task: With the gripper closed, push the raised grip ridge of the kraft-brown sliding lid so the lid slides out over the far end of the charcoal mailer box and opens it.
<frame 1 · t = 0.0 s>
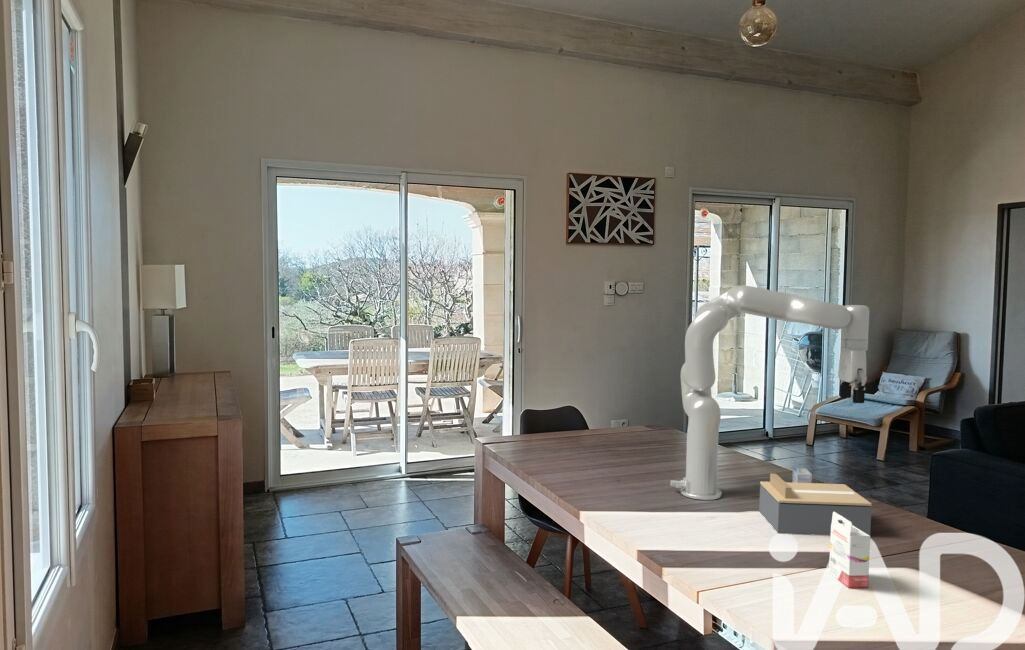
hand: (851, 400, 218), 31 cm above the table, tool pointing down, fingers open, 9 cm apart
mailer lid: (813, 487, 197), point 10 cm above the table, slide at 0.0 cm
mailer box: (811, 523, 197), on the table
ink cartridge box: (848, 580, 160), on the table
medicine box: (801, 498, 221), on the table
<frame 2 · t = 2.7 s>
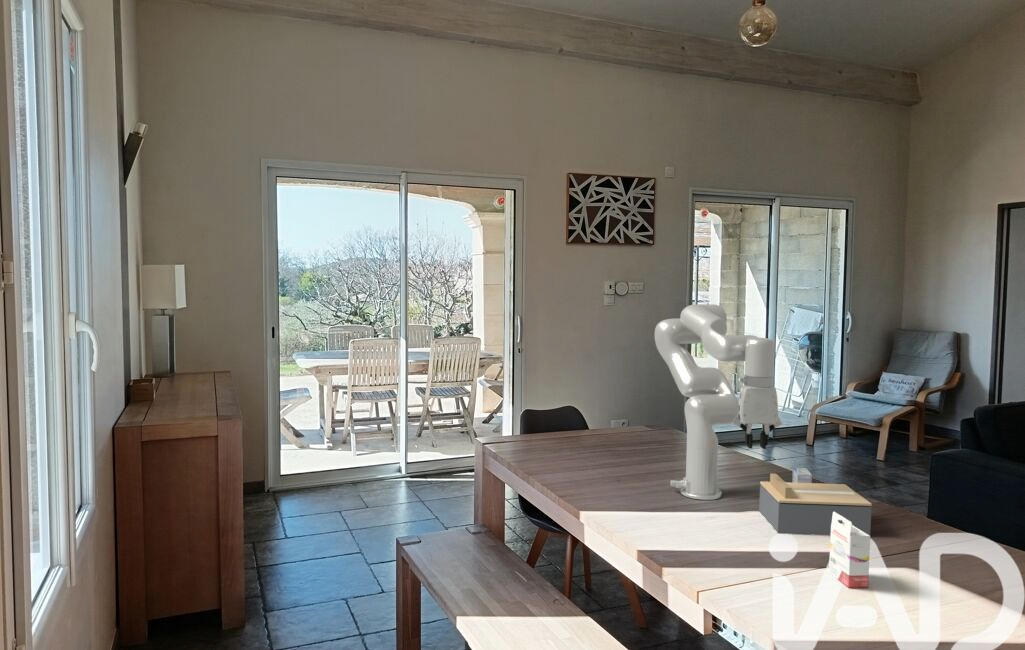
hand: (756, 446, 197), 21 cm above the table, tool pointing down, fingers open, 3 cm apart
nothing on the table moved.
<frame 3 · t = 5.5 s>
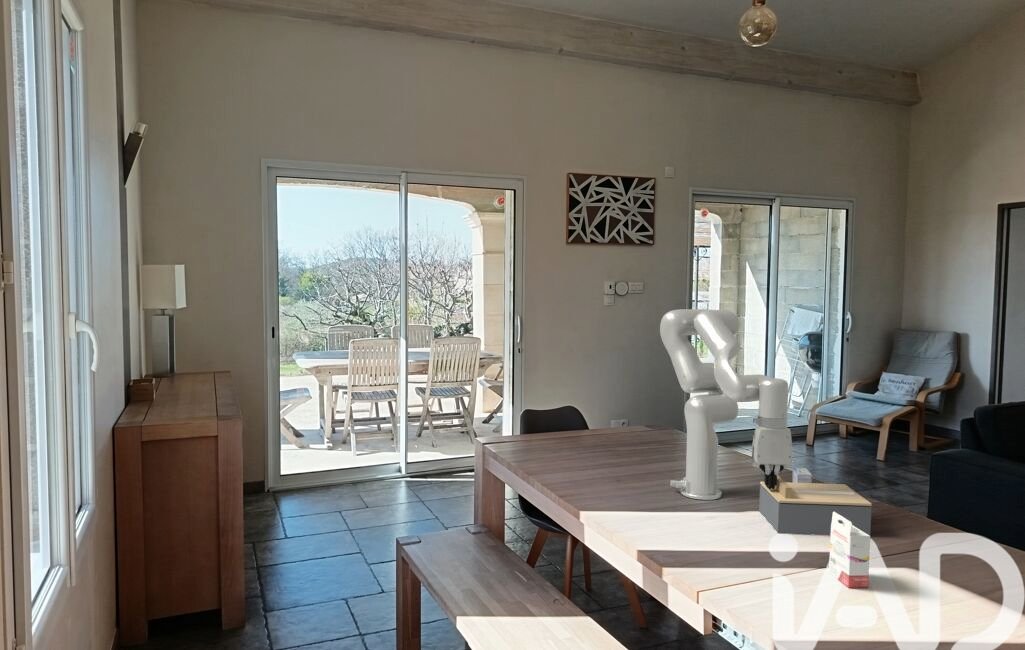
hand: (770, 487, 198), 10 cm above the table, tool pointing down, fingers closed
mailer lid: (813, 487, 197), point 10 cm above the table, slide at 0.0 cm, touching gripper
everything else where it was.
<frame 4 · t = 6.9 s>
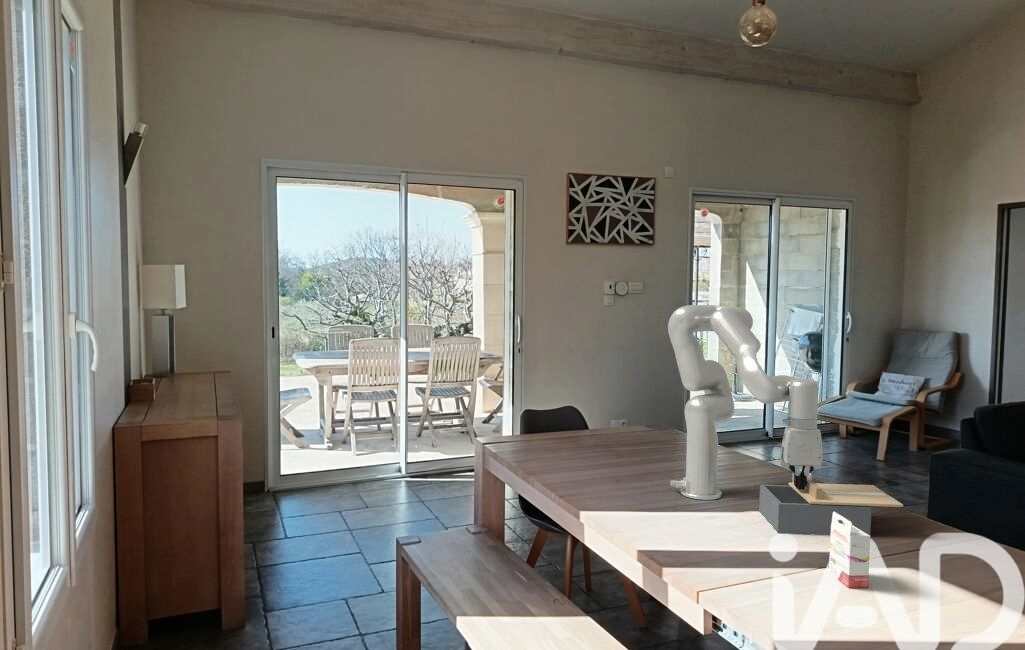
hand: (800, 488, 197), 10 cm above the table, tool pointing down, fingers closed
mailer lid: (843, 488, 196), point 10 cm above the table, slide at 8.1 cm, touching gripper
everything else where it was.
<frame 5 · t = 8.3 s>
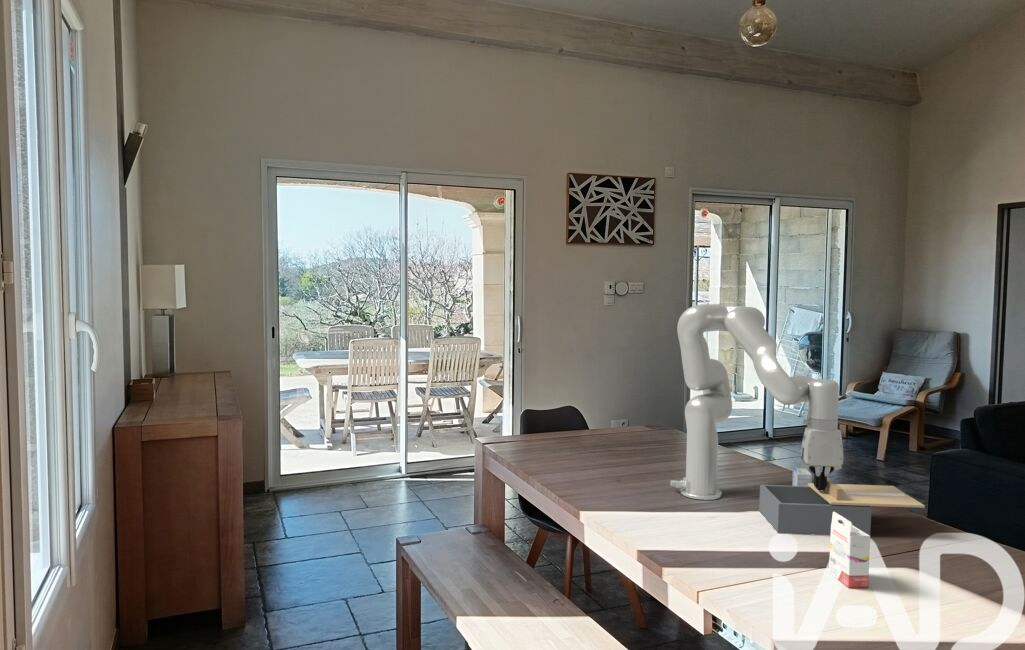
hand: (820, 489, 197), 10 cm above the table, tool pointing down, fingers closed
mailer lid: (863, 489, 196), point 10 cm above the table, slide at 13.6 cm, touching gripper
everything else where it was.
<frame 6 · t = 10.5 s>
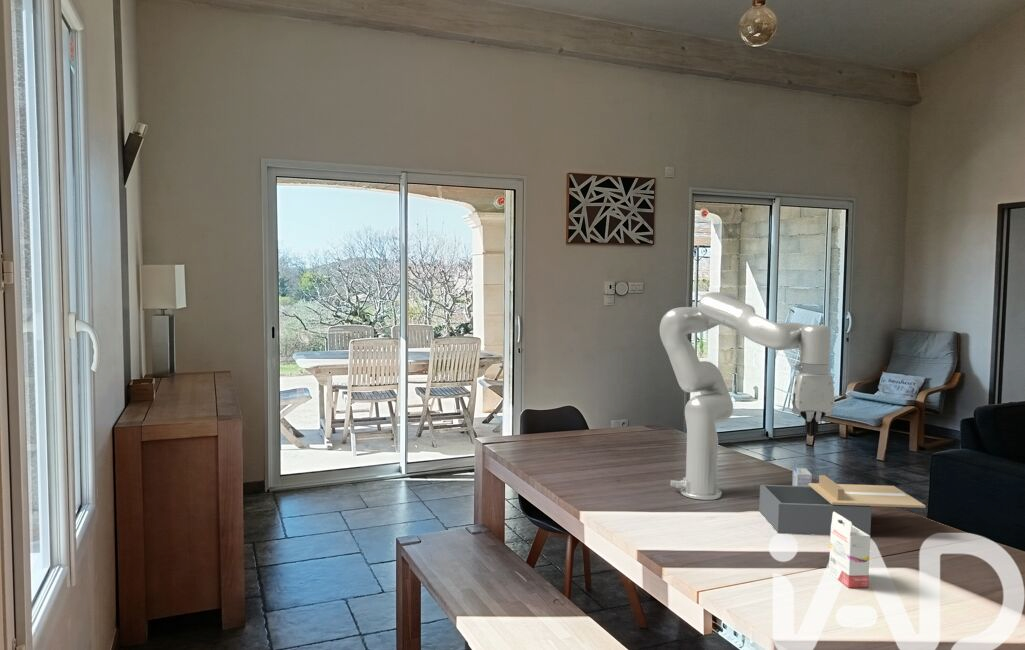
hand: (811, 435, 196), 25 cm above the table, tool pointing down, fingers closed
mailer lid: (864, 489, 196), point 10 cm above the table, slide at 13.8 cm
everything else where it was.
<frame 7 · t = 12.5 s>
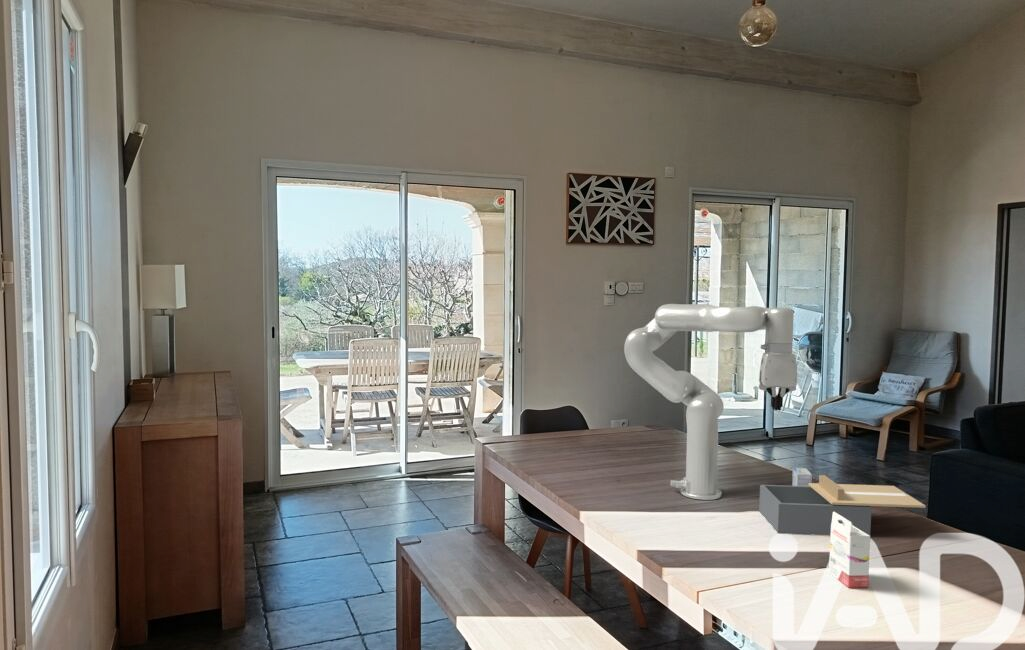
hand: (776, 409, 212), 29 cm above the table, tool pointing down, fingers closed
nothing on the table moved.
at the end: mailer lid slide at 13.8 cm; medicine box moved 0.3 cm from its start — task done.
